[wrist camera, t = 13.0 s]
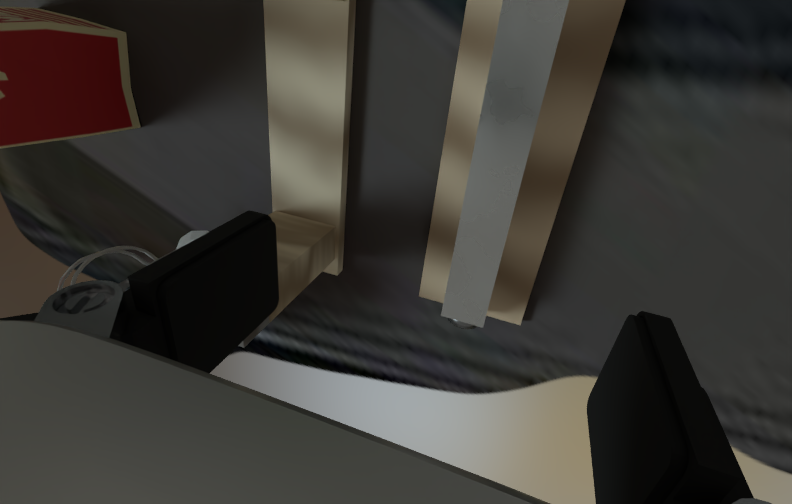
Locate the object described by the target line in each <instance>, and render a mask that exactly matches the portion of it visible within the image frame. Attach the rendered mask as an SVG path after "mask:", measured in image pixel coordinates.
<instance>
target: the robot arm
mask: <svg viewBox="0 0 792 504" xmlns="http://www.w3.org/2000/svg"><path fill="white" fill-rule="evenodd" d="M128 281H129V284H130V289H128V290H127V291H125V292H124V291H123V288H122V287H121V286H120V285H119V284H117V283H115V282H112V281H105V280H95V281H87V282H81V283H78V284H74V285H70V286H68V287H65V288H63V289H61V290H59V291H57V292H56V293H54V294H53V295H51V296H50V297H49V298H48V299H47V300H46V301H45V302H44V304H43V306H42V308H41V310H40V312H39V313H33V314H26V315H20V316H13V317H7V318H0V504H550V503H547V502H545V501H542V500H540V499H537V498H535V497H532V496H530V495H527V494H525V493H522V492H520V491H517V490H515V489H512V488H510V487H507V486H505V485H502V484H499V483H497V482H494V481H492V480H489V479H486V478H484V477H481V476H479V475H476V474H473V473H471V472H468V471H465V470H463V469H460V468H458V467H455V466H452V465H450V464H447V463H445V462H442V461H439V460H437V459H434V458H432V457H429V456H426V455H424V454H421V453H418V452H416V451H413V450H411V449H408V448H405V447H403V446H400V445H398V444H395V443H393V442H390V441H387V440H385V439H382V438H379V437H376V436H374V435H372V434H369V433H366V432H363V431H361V430H358V429H356V428H353V427H350V426H348V425H345V424H342V423H340V422H337V421H334V420H331V419H329V418H327V417H324V416H321V415H319V414H316V413H313V412H310V411H308V410H305V409H303V408H300V407H297V406H295V405H292V404H289V403H287V402H284V401H281V400H279V399H276V398H273V397H271V396H268V395H266V394H263V393H260V392H258V391H255V390H252V389H249V388H247V387H244V386H241V385H239V384H236V383H233V382H231V381H228V380H225V379H222V378H220V377H217V376H214V375H212V374H209V373H210V372H211V371H212V370H213V369H214V368H215V367H216V366H218V365H219V364H220V363H221V362H222V361H223V360H224V359H225V358H226V357H227V356H228V355H229V354H230V353H231V352H232V351H233V350H234V349H235V348H236V347H237V346H238V345H239V344H240V343H241V342H242V341H244V340H245V339H246V338H247V337H248V336H249V335H250V334H251V333H252V332H253V331H254V330H255V329H256V328H257V327H258V326H259V325H260V324H261V323H262V322H263V321H264V320H265V319H266V318H267V317H268V316H270V315H271V314H272V313H273V312H274V311H275V309H276V308H277V306H278V303H279V283H278V261H277V238H276V225H275V223H274V222H273V221H272V219H271V217H270V216H269V215H266V214H262V213H258V212H254V211H247V212H245V213H243V214H241V215H239V216H237V217H236V218H234V219H232V220H230V221H228V222H226V223H225V224H223V225H221V226H219V227H217V228H216V229H214V230H212V231H210V232H208V233H206V234H205V235H203V236H201V237H199V238H197V239H195V240H194V241H192V242H190V243H188V244H186V245H185V246H183V247H181V248H179V249H177V250H175V251H174V252H172V253H170V254H168V255H166V256H164V257H163V258H161V259H159V260H157V261H155V262H153V263H152V264H150V265H148V266H146V267H144V268H143V269H141V270H139V271H137V272H135V273H133V274H132V275H130V276H128ZM587 416H588V426H589V437H590V445H591V446H590V447H591V457H592V467H593V477H594V487H595V498H596V504H771V503H769V502H766V501H762V500H758V499H755V498H753V495H752V493H751V491H750V489H749V486H748V484H747V482H746V480H745V477H744V475H743V473H742V471H741V468H740V466H739V464H738V462H737V460H736V457H735V455H734V453H733V451H732V448H731V446H730V444H729V442H728V439H727V437H726V435H725V433H724V430H723V428H722V426H721V424H720V422H719V419H718V417H717V415H716V413H715V410H714V408H713V406H712V404H711V401H710V399H709V397H708V395H707V393H706V392H705V390H704V389H703V388H702V387H701V386H700V384H699V381H698V379H697V377H696V375H695V372H694V370H693V368H692V365H691V363H690V361H689V359H688V356H687V354H686V352H685V350H684V347H683V345H682V343H681V340H680V338H679V336H678V334H677V331H676V329H675V327H674V324H673V322H672V320H671V319H670V318H667V317H663V316H660V315H656V314H652V313H648V312H644V311H641V312H639V313H638V314H637V316H635V315H629V316H628V317H627V319H626V321H625V323H624V325H623V327H622V329H621V331H620V333H619V335H618V337H617V339H616V341H615V344H614V346H613V348H612V350H611V352H610V354H609V356H608V358H607V360H606V362H605V364H604V366H603V368H602V371H601V373H600V375H599V377H598V379H597V381H596V383H595V385H594V387H593V389H592V391H591V393H590V396H589V399H588V404H587Z"/></svg>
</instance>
